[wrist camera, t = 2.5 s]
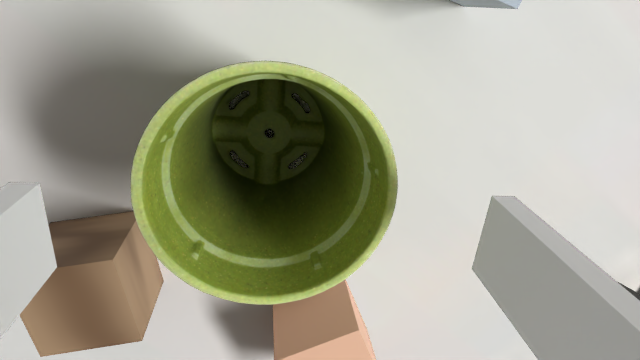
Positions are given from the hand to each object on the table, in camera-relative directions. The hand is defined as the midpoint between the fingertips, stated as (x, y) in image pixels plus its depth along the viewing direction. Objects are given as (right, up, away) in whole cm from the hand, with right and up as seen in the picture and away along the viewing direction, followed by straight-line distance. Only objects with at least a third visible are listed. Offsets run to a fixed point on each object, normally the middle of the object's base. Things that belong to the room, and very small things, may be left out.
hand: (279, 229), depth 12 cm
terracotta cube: (+1, -8, +16) cm, 18 cm away
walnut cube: (-11, -3, +12) cm, 17 cm away
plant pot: (-2, +4, +10) cm, 11 cm away
